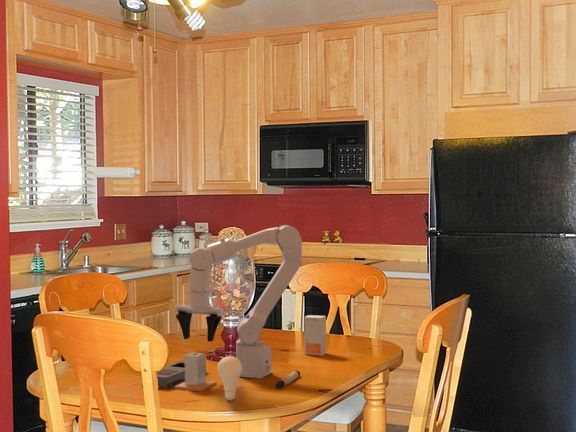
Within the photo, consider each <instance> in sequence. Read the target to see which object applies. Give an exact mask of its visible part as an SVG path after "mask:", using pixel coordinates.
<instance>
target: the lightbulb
mask: <svg viewBox="0 0 576 432" xmlns="http://www.w3.org/2000/svg"><path fill="white" fill-rule="evenodd" d="M216 371H217V373H218V376H219V378H220V379H221V382H222V385H223V390H224V397H225V399H227V400H228V401H233V400H234V399H236V393H237V392H236V390H237V388H238V387H237V385H238V381H239V379H240V375H241V372H242V365H241V362H240V361H239V360H238V359H237V358H236V356H233V355H228V356H227V355H226V356H224V357H223V358H222V359H221V358H220V360H219V362H218V364H217V370H216Z"/></svg>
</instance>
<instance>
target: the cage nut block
mask: <svg viewBox="0 0 576 432" xmlns="http://www.w3.org/2000/svg"><path fill="white" fill-rule="evenodd" d="M184 360H185V385H189V386H200V385H203V384H205V383H206V381H207V375H206V373H207V366H206V365H207V362H206V353H205V352H195V351H194V352H193V351H192V352H189V353H186V354H184Z"/></svg>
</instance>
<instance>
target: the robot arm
mask: <svg viewBox="0 0 576 432" xmlns="http://www.w3.org/2000/svg"><path fill="white" fill-rule="evenodd" d="M264 244H268V245H272V246H273V245H274V246H276V245H277V246H278V247H279V249H280V252H281V254H282V255H281V256H282V262H281V264H280V266H279V267H278V269H277V270H276V272H275V274H274V275H273V276H272V278H271V280H270V281H269V282H268V284H267V286H266V287H265V289H264V290H263V292H262V294H261V295H260V297H259V298H258V300H257V301H256V303H255V304H254V305H253V307H252V308H251V309H250V310H249V312H248V313H247V314H246V315H245V316H244V317H242V318H241V319H239V321H238V323H237V324H236V331H237V335H238V339H237V340H236V341H235V347H236V348H235V350H236V351H235V352H236V354H235V355H236V356H235V357H236V358H237V359H238V360H239V361H240V362H241V365H242V372H241V375H240V377H241V378H251V379H263V378H265V377H266V376H269V375H270V374H272V373H273V370H272V348H271V346H270V345H269V344H265V343H262V339H261V336H262V329H263V328H264V326H265V324H266V322H267V319H268V317H269V315H270V314H271V312H272V311H273V309H274V307H276V304H277V303H278V302H279V299H280V298H281V297H282V295H283V294H284V293H285V291H286V290H287V287H288V286H289V284H290V283H291V281H292V280H293V278H294V277H295V276H296V274H297V272H298V270H299V269H300V268H301V266H302V264H303V263H302V257H303V256H302V255H303V248H302V246H303V240H302V237H301V235H300V232H299V231H298V229H296V228H295V227H294V226H291V225H288V224H283V225H280V226H279V227H278V226H276V227H270V228H266V229H262V230H260V231H257V232H255V233H252V234H249V235H247V236H244V237H242V238H239V239H236V240H234V239H231V238H225V237H221V238H219V241H217V242H213V243H211V244H207V243H206V244H203V248H202V247H197V248H195V249H193V250H192V252H190V255H189V259H188V260H189V263H190V268H189V273H190V274H189V277H188V278H189V279H188V280H189V285H188V291H189V292H188V305H187V304H175V305H174V313H177V314H176V315H175V318H176V319H177V321H178V323H179V325H180V328H181V332H182V336H183V340H187V339H190V337H191V322H192V316H193V314H194V315H195V314H196V315H207V316H205V320H206V328H207V329H206V330H207V333H206V334H207V339H206V340H207V342H213V341H214V339H215V335H216V331H217V329H218V326H219V324H220V322H221V320H222V318H223V316H224V314H225V312H224V311H225V310H224V308H222V307H216V306H215V307H214V306H210V293H211V292H210V291H211V289H210V288H211V275H210V266H211V265H218V264H220V263H223V262H225V261H229V260H231V259H235V258H236V256H237V254H238V253H239V252H241V251H244V250H247V249H251V248H254V247H257V246H260V245H264ZM240 377H239V378H240Z"/></svg>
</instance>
